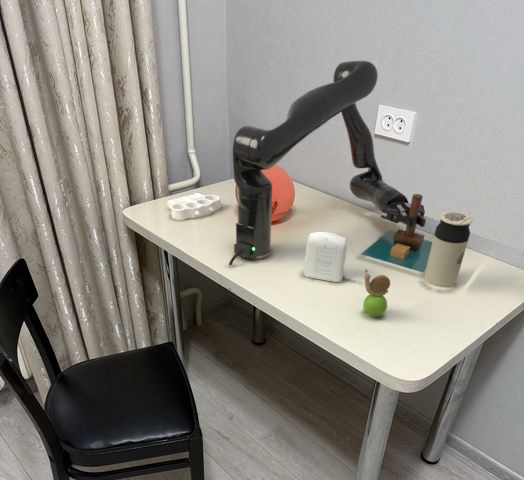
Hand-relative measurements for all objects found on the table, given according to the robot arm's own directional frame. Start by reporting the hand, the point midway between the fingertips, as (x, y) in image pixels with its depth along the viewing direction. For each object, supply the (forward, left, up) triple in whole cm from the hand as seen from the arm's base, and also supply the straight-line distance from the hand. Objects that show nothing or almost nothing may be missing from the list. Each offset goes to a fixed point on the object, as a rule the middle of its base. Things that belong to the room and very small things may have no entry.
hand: (418, 224), depth 136 cm
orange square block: (-4, +2, -8) cm, 10 cm away
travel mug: (-11, -12, -10) cm, 19 cm away
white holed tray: (-12, +71, -10) cm, 73 cm away
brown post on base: (+2, +3, -8) cm, 9 cm away
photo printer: (-26, +14, -10) cm, 31 cm away
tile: (0, +2, -9) cm, 10 cm away
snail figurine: (-35, -4, -10) cm, 37 cm away
